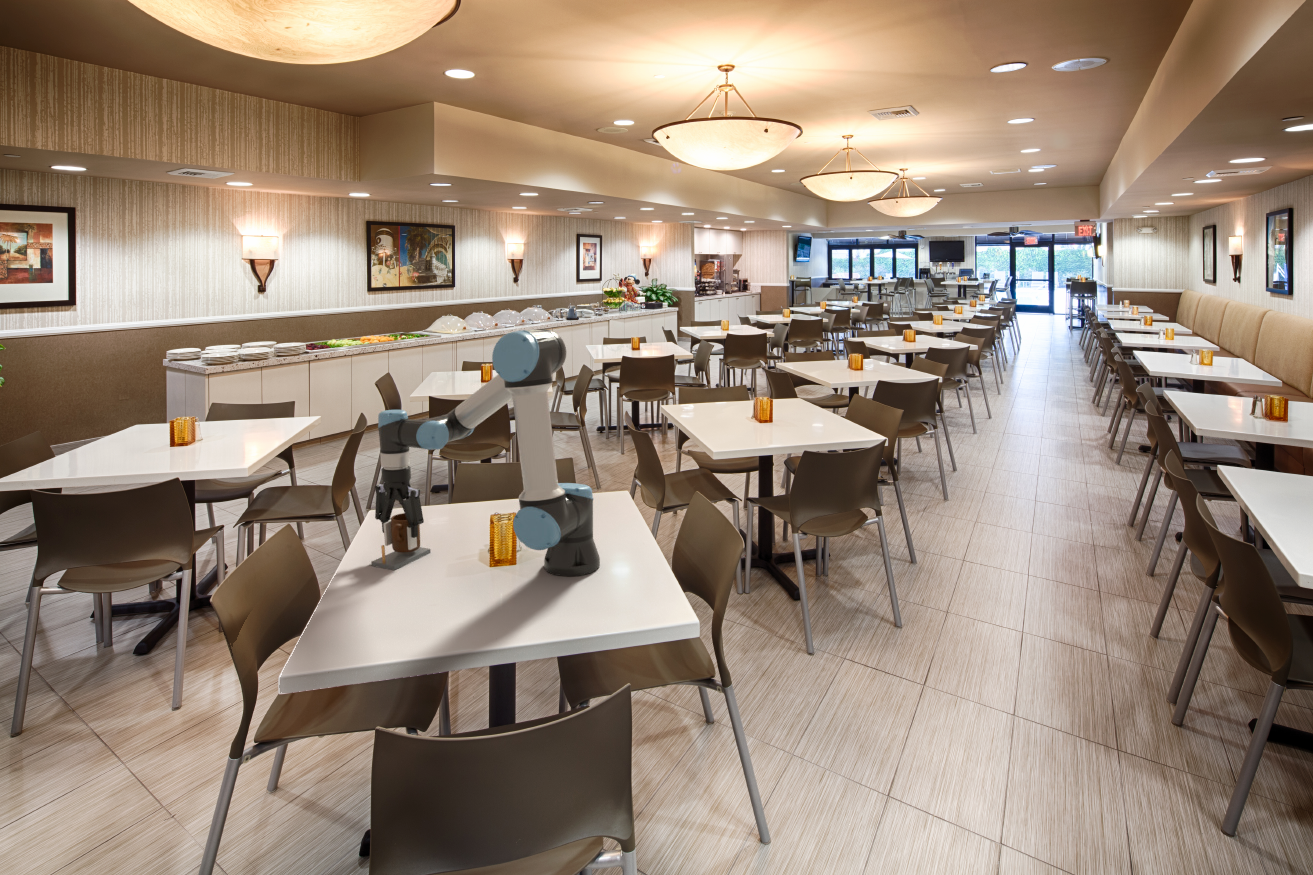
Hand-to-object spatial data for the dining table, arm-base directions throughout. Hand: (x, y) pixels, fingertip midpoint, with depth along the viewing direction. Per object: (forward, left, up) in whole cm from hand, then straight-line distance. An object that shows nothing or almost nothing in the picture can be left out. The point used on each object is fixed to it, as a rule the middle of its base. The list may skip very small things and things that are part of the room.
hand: (401, 546), depth 204 cm
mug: (-1, 0, -2) cm, 2 cm away
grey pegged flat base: (0, 0, -4) cm, 4 cm away
